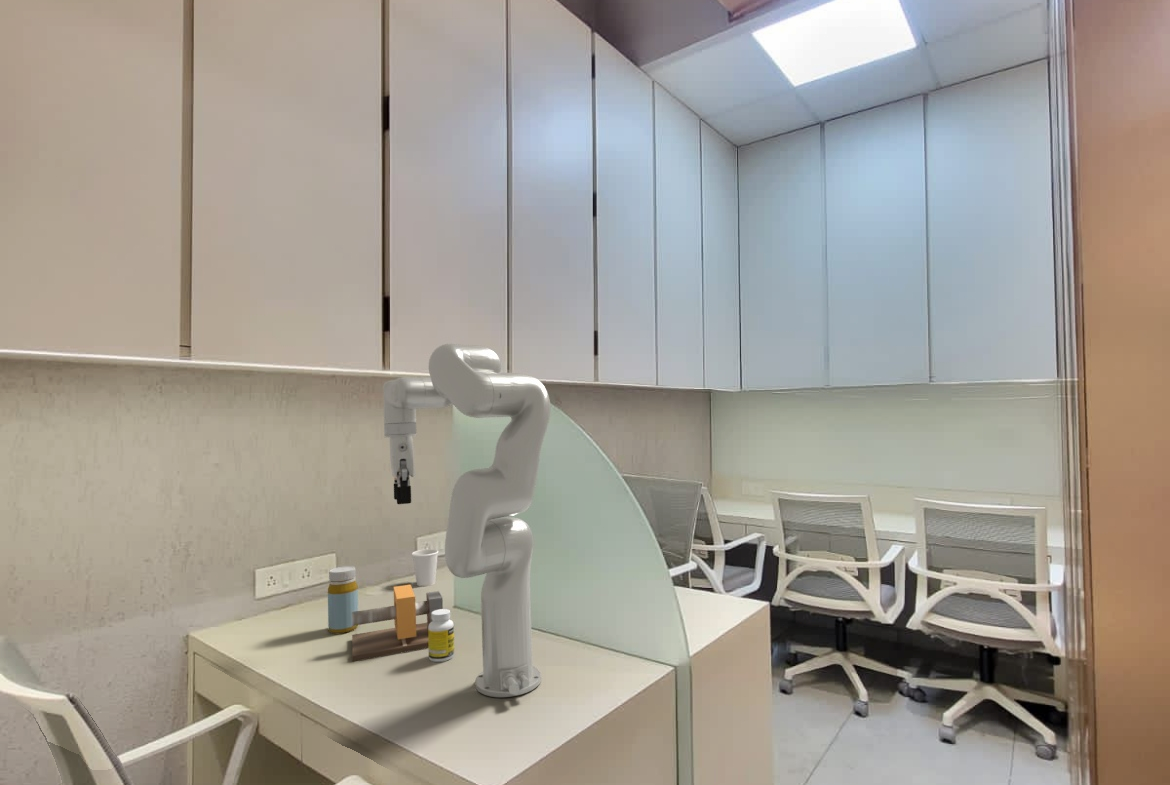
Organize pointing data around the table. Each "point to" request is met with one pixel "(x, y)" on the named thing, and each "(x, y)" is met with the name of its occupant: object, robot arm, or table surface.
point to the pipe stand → (392, 630)
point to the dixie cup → (425, 566)
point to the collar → (405, 611)
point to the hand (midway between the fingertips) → (402, 501)
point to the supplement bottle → (441, 636)
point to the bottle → (342, 599)
